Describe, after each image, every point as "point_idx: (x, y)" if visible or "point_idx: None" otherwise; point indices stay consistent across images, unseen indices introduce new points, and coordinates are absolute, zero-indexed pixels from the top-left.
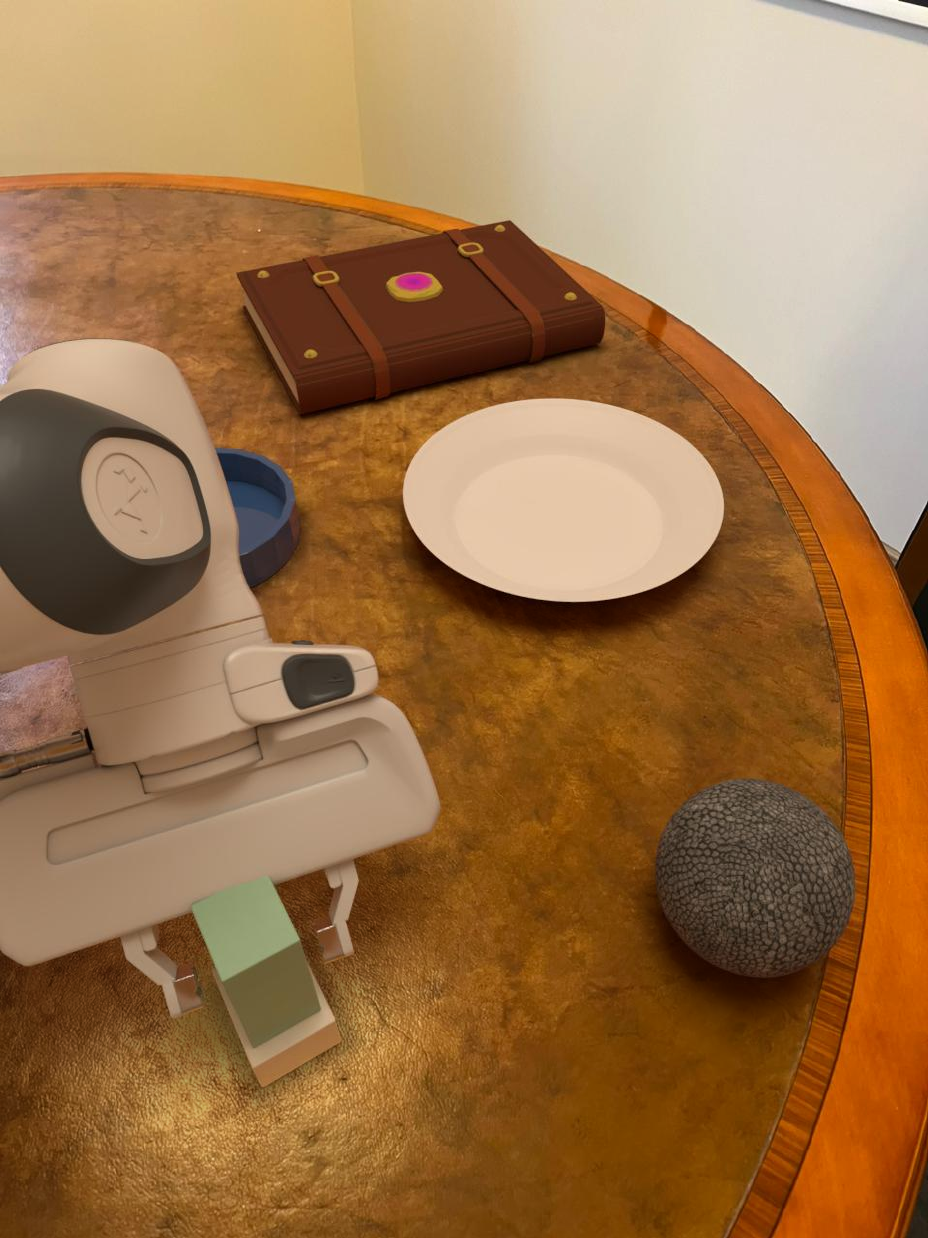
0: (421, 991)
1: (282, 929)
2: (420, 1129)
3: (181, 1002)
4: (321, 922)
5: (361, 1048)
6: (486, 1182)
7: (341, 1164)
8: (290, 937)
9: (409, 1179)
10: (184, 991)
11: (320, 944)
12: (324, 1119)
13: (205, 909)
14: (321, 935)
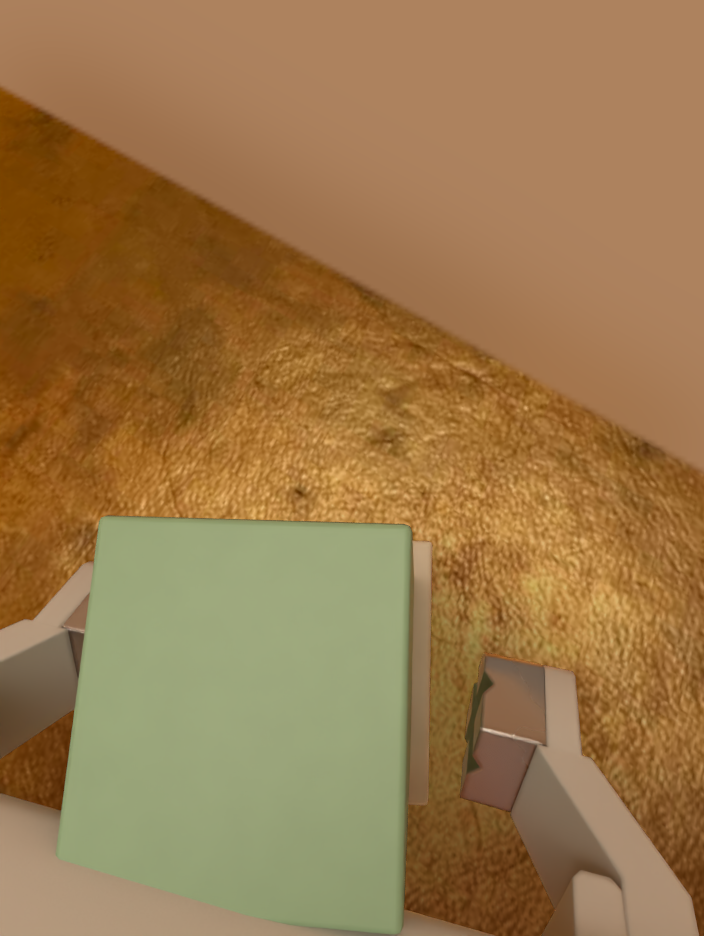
0: None
1: (129, 592)
2: (236, 361)
3: (537, 685)
4: None
5: None
6: (197, 256)
7: (365, 381)
8: (120, 543)
9: (287, 312)
10: (520, 705)
11: None
12: (358, 453)
13: (348, 870)
14: None
